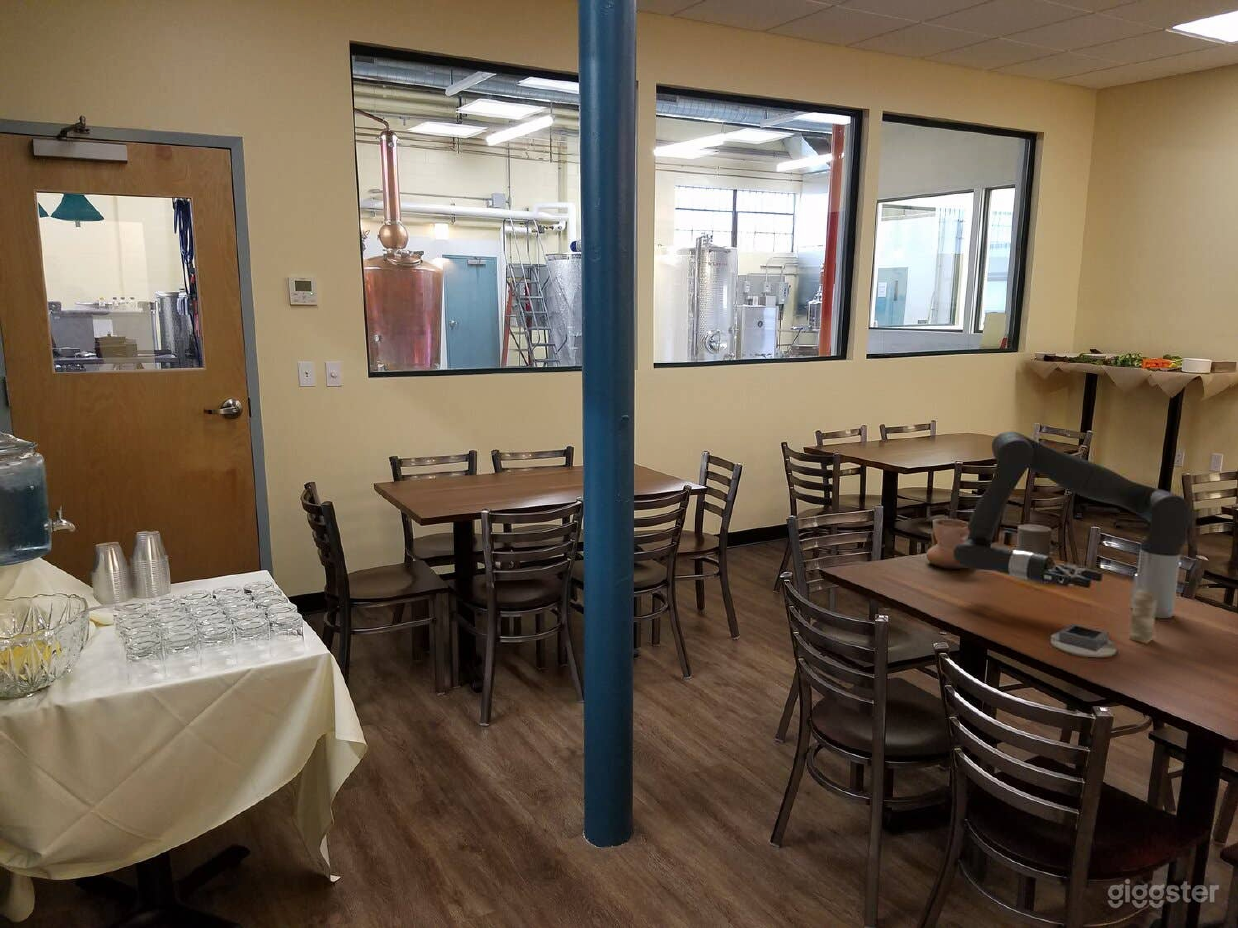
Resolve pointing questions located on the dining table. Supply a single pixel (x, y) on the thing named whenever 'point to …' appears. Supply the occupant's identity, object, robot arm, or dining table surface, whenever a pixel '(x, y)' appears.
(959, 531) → the ceramic jug
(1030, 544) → the pillar candle
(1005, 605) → the dining table surface
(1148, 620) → the beige rectangular block
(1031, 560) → the robot arm
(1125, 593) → the dining table surface
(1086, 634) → the rosette plate
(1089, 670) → the dining table surface
